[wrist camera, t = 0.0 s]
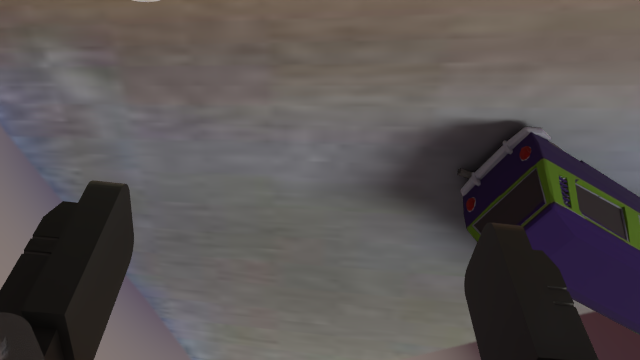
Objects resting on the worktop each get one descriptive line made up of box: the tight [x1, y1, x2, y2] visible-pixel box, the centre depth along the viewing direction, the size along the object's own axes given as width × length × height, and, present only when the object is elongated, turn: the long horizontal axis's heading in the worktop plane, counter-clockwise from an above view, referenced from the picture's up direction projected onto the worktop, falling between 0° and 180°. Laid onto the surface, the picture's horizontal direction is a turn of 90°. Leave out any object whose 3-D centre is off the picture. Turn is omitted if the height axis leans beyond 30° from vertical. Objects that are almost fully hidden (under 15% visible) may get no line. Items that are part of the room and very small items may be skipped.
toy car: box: [457, 126, 640, 335], centre depth 47 cm, size 10×24×10 cm, turn 57°
